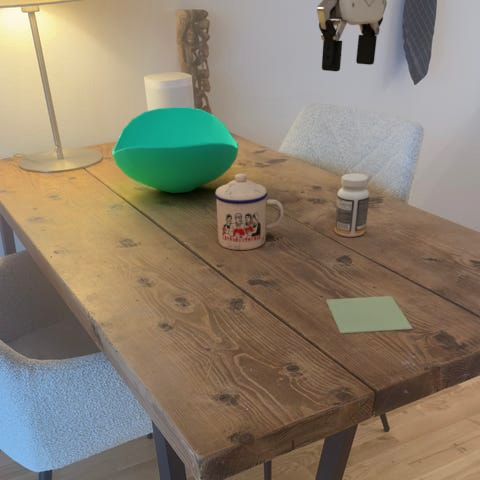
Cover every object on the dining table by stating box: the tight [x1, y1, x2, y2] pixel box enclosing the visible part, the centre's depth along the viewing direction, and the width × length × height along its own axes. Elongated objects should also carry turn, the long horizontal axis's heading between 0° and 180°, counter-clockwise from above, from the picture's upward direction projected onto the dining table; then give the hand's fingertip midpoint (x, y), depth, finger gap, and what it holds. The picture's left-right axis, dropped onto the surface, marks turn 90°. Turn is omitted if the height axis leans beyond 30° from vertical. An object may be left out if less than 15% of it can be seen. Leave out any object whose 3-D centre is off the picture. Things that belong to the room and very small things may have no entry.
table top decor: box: [111, 106, 239, 194], centre depth 125 cm, size 40×28×13 cm
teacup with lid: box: [214, 173, 284, 251], centre depth 99 cm, size 12×9×12 cm
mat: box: [325, 295, 414, 335], centre depth 81 cm, size 10×10×1 cm
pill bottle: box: [334, 172, 370, 238], centre depth 103 cm, size 6×6×10 cm
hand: (348, 67), depth 93 cm, fingers open, 9 cm apart
